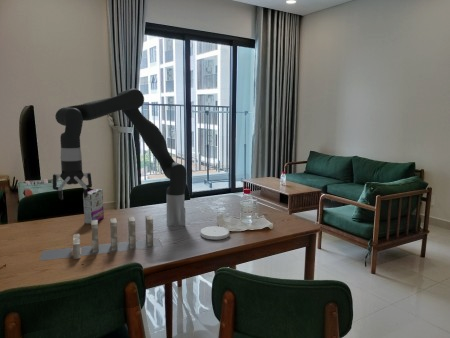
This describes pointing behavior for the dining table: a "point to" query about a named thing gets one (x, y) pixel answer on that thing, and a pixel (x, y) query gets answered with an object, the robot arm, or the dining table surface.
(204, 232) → the plastic lid
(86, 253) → the domino board
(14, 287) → the dining table surface
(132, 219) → the ivory domino
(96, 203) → the candy bar box
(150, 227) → the ivory domino
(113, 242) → the ivory domino
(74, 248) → the domino
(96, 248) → the ivory domino
